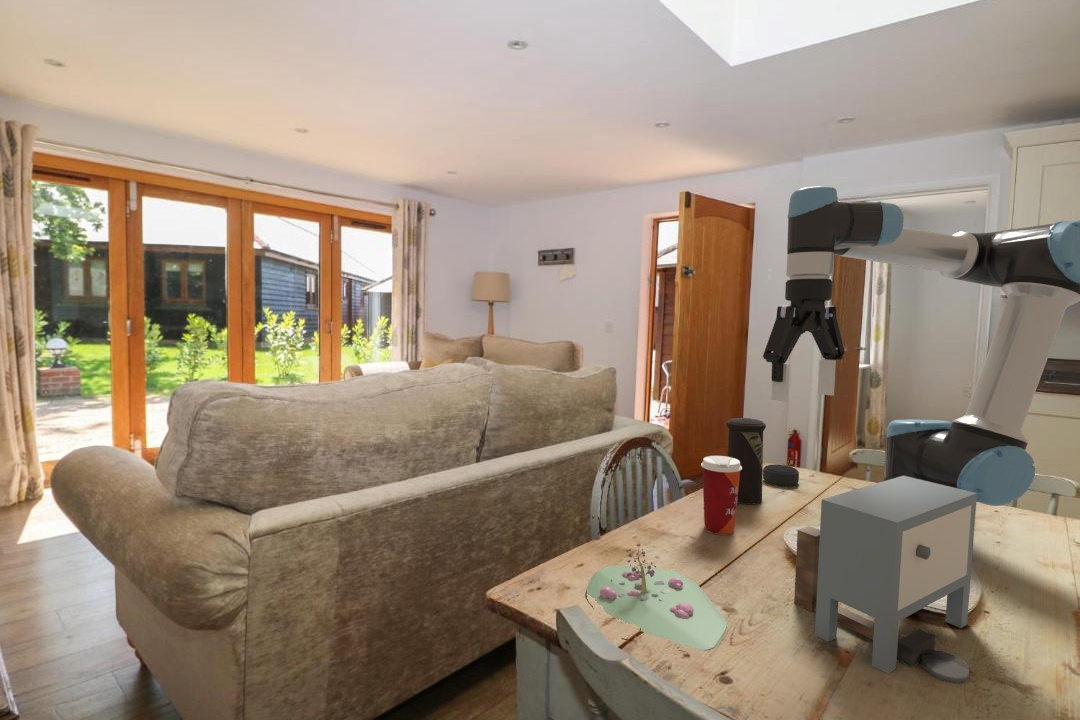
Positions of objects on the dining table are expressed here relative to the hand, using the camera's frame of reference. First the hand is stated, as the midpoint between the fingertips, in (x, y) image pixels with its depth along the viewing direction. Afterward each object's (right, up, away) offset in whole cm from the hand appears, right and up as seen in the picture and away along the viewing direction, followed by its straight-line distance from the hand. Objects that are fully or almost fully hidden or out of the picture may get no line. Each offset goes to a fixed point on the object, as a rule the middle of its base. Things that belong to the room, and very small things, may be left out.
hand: (803, 397), depth 101 cm
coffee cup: (-9, -29, +18) cm, 36 cm away
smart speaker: (+18, -27, +51) cm, 60 cm away
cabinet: (+4, -33, -19) cm, 38 cm away
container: (+3, -28, +37) cm, 46 cm away
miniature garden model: (-29, -33, -12) cm, 45 cm away
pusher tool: (-1, -33, -19) cm, 38 cm away
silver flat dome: (+5, -34, -28) cm, 44 cm away
